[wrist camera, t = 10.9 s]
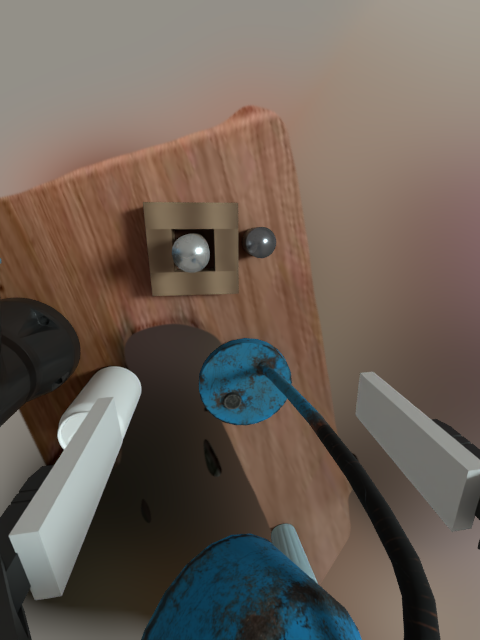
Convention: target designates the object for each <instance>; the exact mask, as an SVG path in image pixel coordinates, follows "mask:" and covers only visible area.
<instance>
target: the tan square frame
mask: <svg viewBox="0 0 480 640" xmlns="http://www.w3.org/2000/svg"><path fill="white" fill-rule="evenodd" d="M143 208H144V218H145V228H146V237H147V247H148V257H149V267H150V276H151V286H152V296H171V295H204V294H238V293H239V275H238V203H174V202H143ZM174 229H213V234H214V265H215V268H203V269H202V270H200V271H198V272H194V273H189V272H185V271H183V270H181V269H177V265H176V264H175V263H174V261H173V258H172V248H173V245H174V243H175V232H174Z"/></svg>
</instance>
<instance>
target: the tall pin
mask: <svg viewBox="0 0 480 640" xmlns="http://www.w3.org/2000/svg"><path fill="white" fill-rule="evenodd" d="M172 258H173V261H174V263H175V264H176V265H177V267H178V268H180V269H181V270H183V271H185V272H189V273H194V272H198V271H200V270H202V269H203V268H204V267H205V266H206V265H207V263H208V261H209V258H210V251H209V247H208V243H207V241H206V239H205V238H204V237H203V236H202V235H200V234H197V233H191V234H187V235H183V236H181V237H180V238H178V239H177V240H176V241H175V243H174V245H173V248H172Z"/></svg>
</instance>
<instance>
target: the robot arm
mask: <svg viewBox="0 0 480 640" xmlns="http://www.w3.org/2000/svg"><path fill="white" fill-rule="evenodd" d="M0 263H1V258H0ZM79 359H80V343H79V339H78V337H77V334H76V332H75V330H74V328H73V327H72V325H71V324H70V323H69V321H68V320H67V319H66V318H65V317H64V316H63V315H62V314H60V313H59V312H58V311H56V310H55V309H53V308H52V307H50V306H48V305H46V304H44V303H41V302H39V301H36V300H32V299H27V298H6V299H2V300H0V427H1V425H3V424H4V423H5V422H6V421H7V420H8V419H9V418H10V417H11V416H12V415H13V414H14V413H15V412H16V411H17V410H18V409H19V408H20V407H21V406H22V405H23V404H25V403H26V402H28V401H30V400H32V399H35V398H37V397H40V396H42V395H45V394H47V393H49V392H51V391H53V390H55V389H57V388H58V387H59V386H61V385H62V384H63V383H64V382H65V381H66V380H67V379H68V378H69V377H70V376H71V375H72V374H73V372H74V371H75V369H76V367H77V365H78V363H79ZM356 416H357V417H358V419H359V420H360V421H361V422H362V423H363V424H364V426H365V427H366V428H367V430H368V431H369V432H370V433H371V434H372V436H373V437H374V438H375V439H376V440H377V442H378V443H379V444H380V445H381V447H382V448H383V449H384V450H385V451H386V453H387V454H388V455H389V456H390V457H391V459H392V460H393V461H394V462H395V463H396V465H397V466H398V467H399V468H400V469H401V471H402V472H403V473H404V474H405V476H406V477H407V478H408V479H409V480H410V481H411V483H412V484H413V485H414V486H415V487H416V489H417V490H418V491H419V493H420V494H421V495H422V496H423V497H424V499H425V500H426V501H427V502H428V503H429V505H430V506H431V507H432V508H433V509H434V511H435V512H436V513H437V514H438V515H439V517H440V518H441V519H442V520H443V521H444V523H445V524H446V525H447V526H448V528H449V529H450V530H451V531H452V532H453V531H459V530H465V529H470V528H471V527H472V525H473V521H474V518H475V516H476V517H477V518H478V519H479V520H480V449H478V448H477V447H476V446H475V445H473V444H471V443H470V441H468V440H467V439H466V438H464V437H462V436H461V434H459V433H458V432H457V431H456V430H454V429H453V428H452V427H451V426H449V425H447V424H445V423H443V422H441V421H439V420H437V419H433V420H431V419H430V418H429V417H427V416H426V415H425V414H424V413H422V412H421V411H420V410H419V409H418V408H416V407H415V406H414V405H413V404H412V403H410V402H409V401H408V400H407V399H405V398H404V397H403V396H402V395H401V394H399V393H398V392H397V391H396V390H395V389H393V388H392V387H391V386H390V385H389V384H387V383H386V382H385V381H384V380H383V379H381V378H380V377H379V376H378V375H377V374H375V373H374V372H365V373H360V379H359V389H358V397H357V407H356ZM122 442H123V440H122V435H121V430H120V425H119V420H118V415H117V411H116V406H115V401H114V397H106V398H98V399H97V400H96V402H95V403H94V405H93V406H92V408H91V410H90V411H89V413H88V414H87V416H86V417H85V419H84V420H83V422H82V423H81V425H80V426H79V428H78V430H77V431H76V433H75V434H74V436H73V437H72V439H71V440H70V442H69V443H68V445H67V446H66V448H65V450H64V451H63V453H62V454H61V456H60V457H59V459H58V460H57V462H56V463H55V465H51V466H42V467H41V468H40V469H39V470H38V471H36V472H35V473H34V474H33V475H32V476H31V477H29V478H28V480H27V481H26V482H25V484H24V485H23V487H22V488H21V489H20V491H19V494H17V495H16V496H15V498H14V499H13V501H12V502H11V505H9V506H8V508H7V509H6V510H5V512H4V513H3V515H2V516H1V517H0V640H32V639H31V635H30V631H29V627H28V623H27V620H26V616H25V611H24V609H23V606H22V603H23V601H24V599H25V597H26V595H27V593H28V591H29V589H31V592H32V594H33V596H34V599H35V600H40V599H45V598H51V597H57V596H62V594H63V591H64V589H65V586H66V583H67V581H68V579H69V576H70V574H71V571H72V569H73V566H74V563H75V561H76V558H77V556H78V553H79V551H80V548H81V546H82V543H83V541H84V538H85V536H86V533H87V531H88V528H89V526H90V523H91V521H92V518H93V515H94V513H95V510H96V508H97V505H98V503H99V500H100V498H101V495H102V493H103V490H104V488H105V485H106V482H107V480H108V477H109V475H110V472H111V470H112V467H113V465H114V462H115V460H116V457H117V455H118V452H119V450H120V447H121V445H122ZM478 549H480V540H479V544H478Z"/></svg>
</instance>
